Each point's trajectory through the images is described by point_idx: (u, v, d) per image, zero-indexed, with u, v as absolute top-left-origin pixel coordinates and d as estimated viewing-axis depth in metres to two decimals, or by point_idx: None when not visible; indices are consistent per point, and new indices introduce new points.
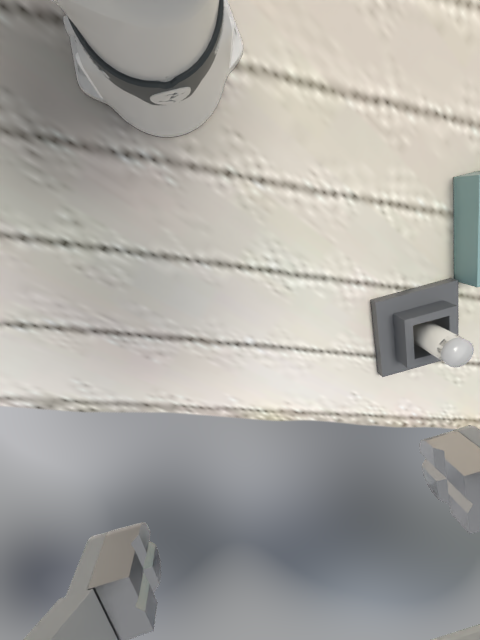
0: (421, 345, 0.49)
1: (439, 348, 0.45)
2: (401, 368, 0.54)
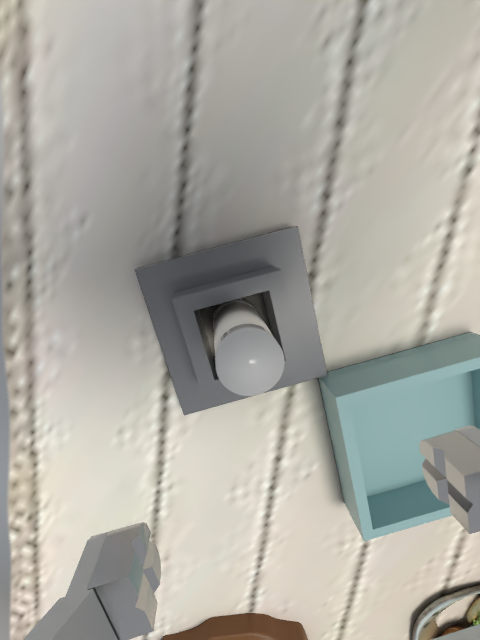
0: (228, 315, 0.24)
1: (253, 325, 0.20)
2: (155, 307, 0.26)
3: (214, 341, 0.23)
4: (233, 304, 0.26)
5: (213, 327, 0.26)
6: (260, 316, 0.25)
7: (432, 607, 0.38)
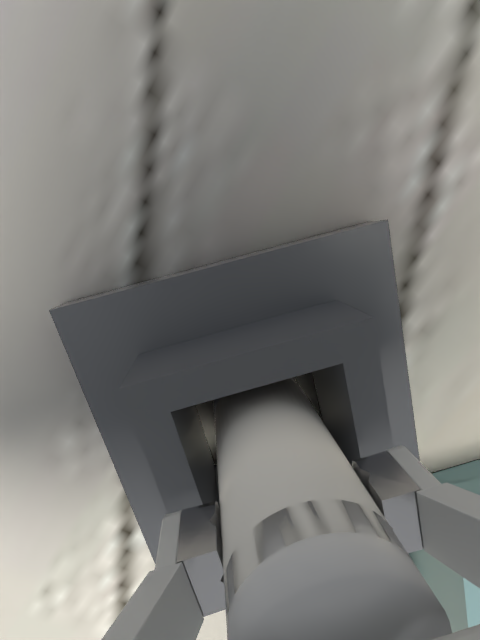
0: (250, 424, 0.10)
1: (341, 513, 0.07)
2: (97, 384, 0.13)
3: (219, 499, 0.09)
4: None
5: (215, 425, 0.13)
6: (314, 409, 0.12)
7: None
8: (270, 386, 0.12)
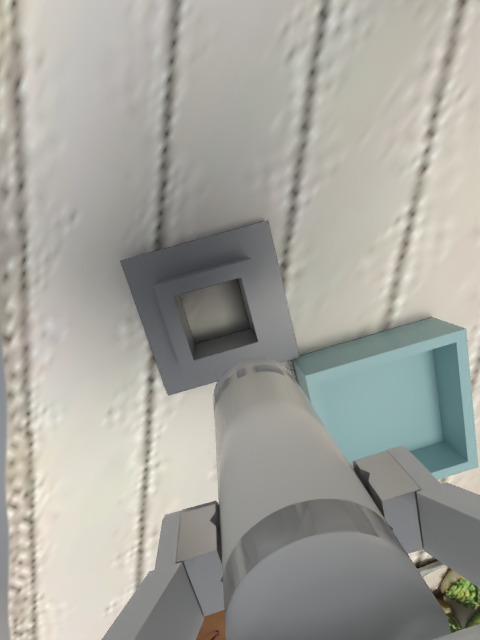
0: (250, 423, 0.10)
1: (340, 513, 0.07)
2: (140, 295, 0.29)
3: (219, 498, 0.09)
4: (255, 379, 0.13)
5: None
6: (314, 409, 0.12)
7: None
8: (270, 386, 0.12)
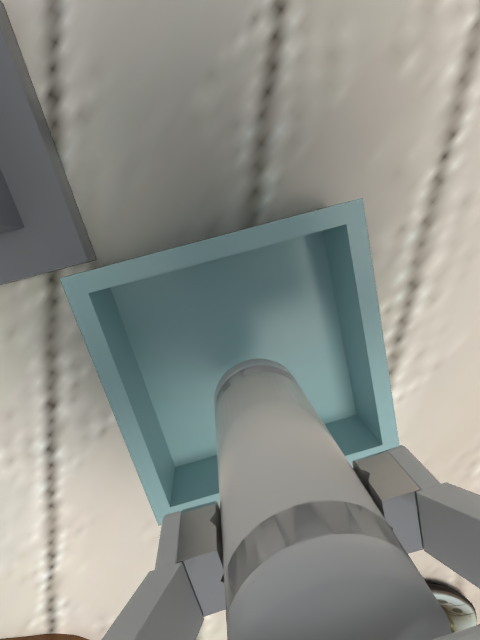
0: (251, 424, 0.10)
1: (341, 515, 0.07)
2: None
3: (220, 499, 0.09)
4: (256, 380, 0.13)
5: (215, 426, 0.13)
6: (315, 410, 0.12)
7: None
8: (271, 387, 0.12)
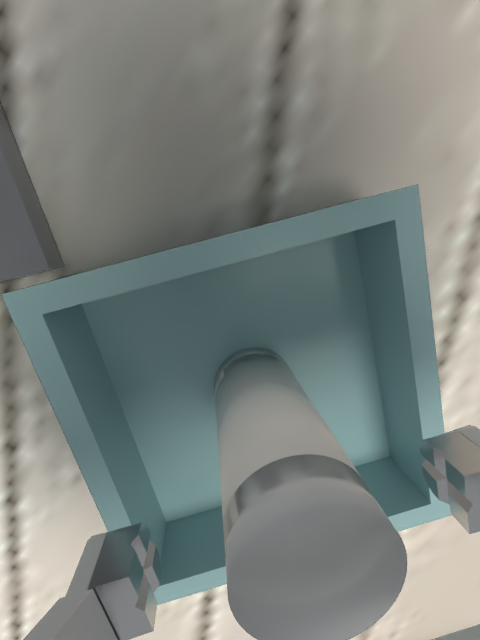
0: (246, 400, 0.12)
1: (319, 464, 0.08)
2: None
3: (219, 463, 0.11)
4: (252, 365, 0.14)
5: (215, 407, 0.14)
6: (304, 391, 0.13)
7: None
8: (265, 370, 0.14)
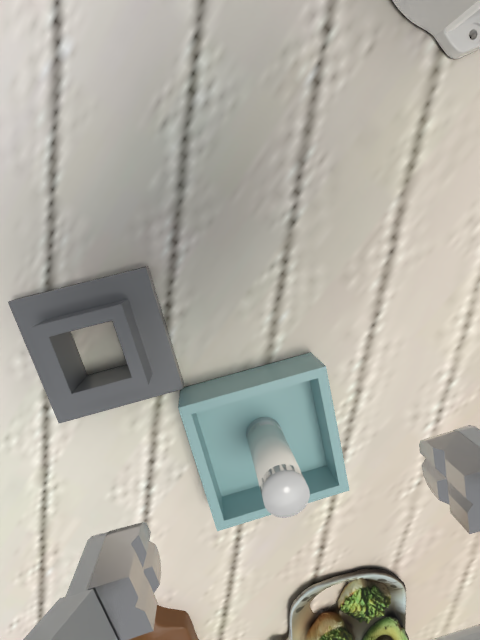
0: (264, 445, 0.32)
1: (287, 467, 0.29)
2: (27, 332, 0.32)
3: (255, 467, 0.31)
4: (264, 428, 0.35)
5: (249, 444, 0.35)
6: (285, 439, 0.34)
7: (302, 593, 0.44)
8: (270, 431, 0.34)
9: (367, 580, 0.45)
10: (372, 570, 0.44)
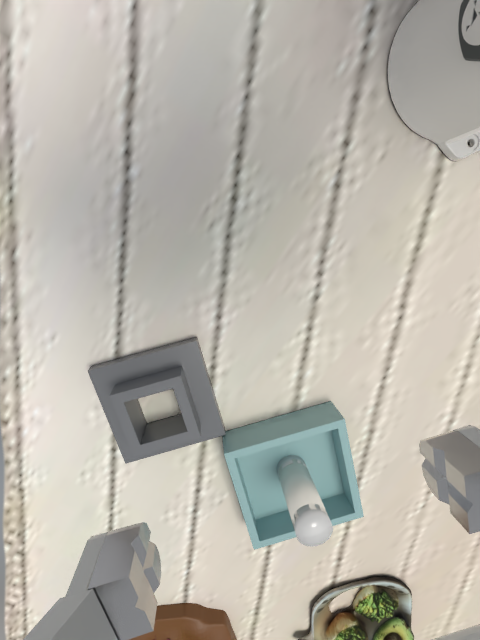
0: (294, 483, 0.40)
1: (314, 506, 0.36)
2: (102, 394, 0.39)
3: (287, 503, 0.39)
4: (293, 466, 0.42)
5: (280, 480, 0.42)
6: (310, 476, 0.42)
7: (322, 596, 0.51)
8: (297, 470, 0.42)
9: (378, 586, 0.52)
10: (382, 578, 0.52)
